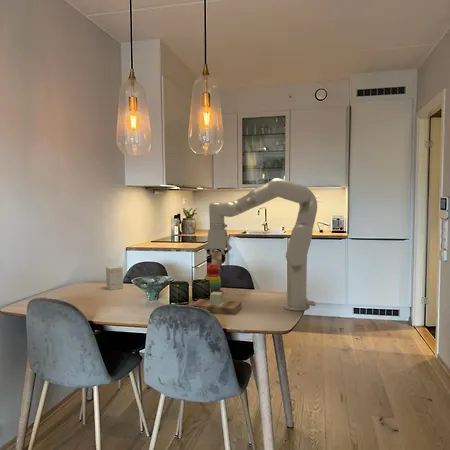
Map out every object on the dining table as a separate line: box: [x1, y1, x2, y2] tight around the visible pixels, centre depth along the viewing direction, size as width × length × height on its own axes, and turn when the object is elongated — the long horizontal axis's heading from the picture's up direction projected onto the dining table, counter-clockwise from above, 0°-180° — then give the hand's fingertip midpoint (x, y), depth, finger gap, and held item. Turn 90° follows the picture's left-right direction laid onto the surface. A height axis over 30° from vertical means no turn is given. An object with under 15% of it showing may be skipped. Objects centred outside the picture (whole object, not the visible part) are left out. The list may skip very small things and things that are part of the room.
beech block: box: [212, 250, 224, 265], centre depth 206 cm, size 5×5×6 cm
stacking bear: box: [204, 263, 224, 294], centre depth 226 cm, size 11×10×18 cm
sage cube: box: [209, 291, 224, 305], centre depth 196 cm, size 5×5×5 cm
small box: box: [105, 265, 124, 291], centre depth 242 cm, size 8×6×13 cm
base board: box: [190, 298, 242, 316], centre depth 196 cm, size 22×12×3 cm, turn 73°
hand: (218, 261), depth 206 cm, fingers closed on beech block, 5 cm apart
